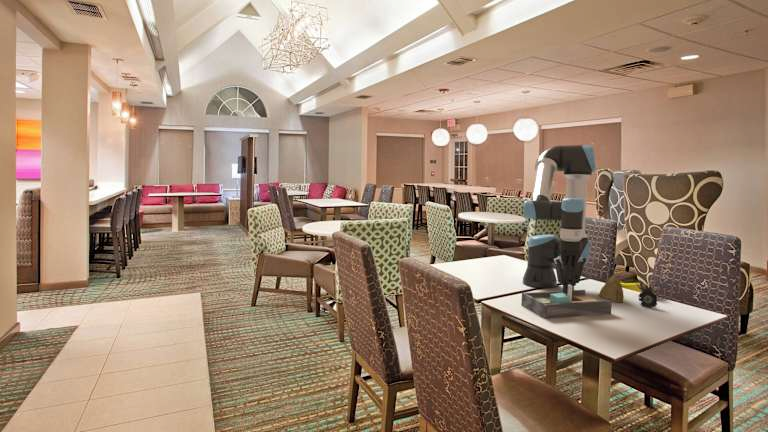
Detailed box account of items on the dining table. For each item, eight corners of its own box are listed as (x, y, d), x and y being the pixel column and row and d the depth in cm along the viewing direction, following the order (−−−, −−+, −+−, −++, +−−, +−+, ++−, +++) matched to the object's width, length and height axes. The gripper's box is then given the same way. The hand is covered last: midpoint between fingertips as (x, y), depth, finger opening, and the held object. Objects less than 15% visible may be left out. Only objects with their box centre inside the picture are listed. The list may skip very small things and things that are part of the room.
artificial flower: (633, 309, 180) (627, 284, 182) (642, 302, 198) (637, 280, 199) (658, 307, 175) (653, 281, 176) (665, 301, 193) (660, 277, 194)
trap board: (521, 305, 178) (521, 293, 178) (583, 301, 184) (584, 289, 184) (544, 318, 163) (544, 305, 162) (611, 313, 169) (611, 300, 168)
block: (550, 304, 170) (550, 294, 170) (561, 302, 172) (561, 292, 171) (557, 308, 166) (557, 297, 165) (569, 306, 167) (569, 296, 166)
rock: (632, 298, 181) (626, 289, 191) (619, 281, 181) (614, 273, 190) (607, 311, 185) (603, 301, 195) (594, 294, 185) (591, 285, 194)
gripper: (561, 241, 162) (558, 305, 164) (592, 240, 165) (589, 303, 167) (549, 238, 169) (546, 299, 171) (579, 237, 172) (576, 298, 174)
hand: (567, 301), depth 169 cm, fingers closed
